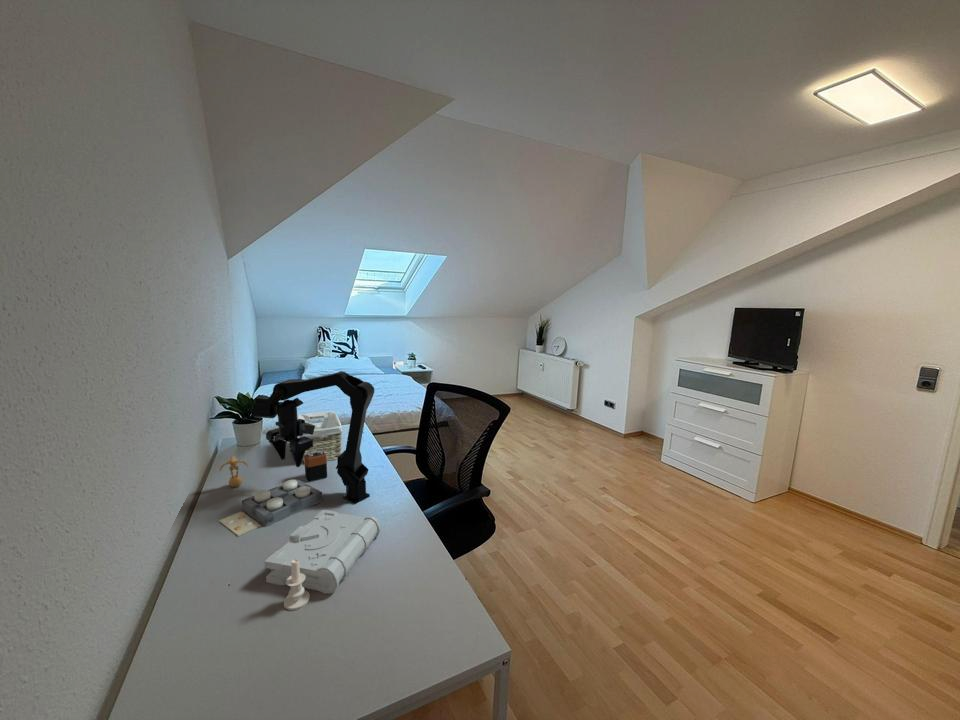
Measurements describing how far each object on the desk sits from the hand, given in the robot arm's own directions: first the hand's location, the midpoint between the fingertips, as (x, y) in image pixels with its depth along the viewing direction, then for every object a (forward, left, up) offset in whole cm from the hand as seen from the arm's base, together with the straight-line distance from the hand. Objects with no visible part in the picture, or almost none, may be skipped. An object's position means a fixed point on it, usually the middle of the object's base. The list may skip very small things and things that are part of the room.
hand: (290, 463), depth 128 cm
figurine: (+19, +9, -11) cm, 24 cm away
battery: (+4, -12, -11) cm, 17 cm away
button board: (-4, +5, -11) cm, 13 cm away
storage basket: (+24, -26, -11) cm, 37 cm away
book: (-37, +10, -12) cm, 40 cm away
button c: (-8, +10, -8) cm, 15 cm away
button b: (-1, +1, -8) cm, 8 cm away
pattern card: (-4, +18, -11) cm, 22 cm away
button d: (-1, +10, -8) cm, 13 cm away
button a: (-8, +1, -8) cm, 12 cm away
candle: (-45, +24, -11) cm, 52 cm away
